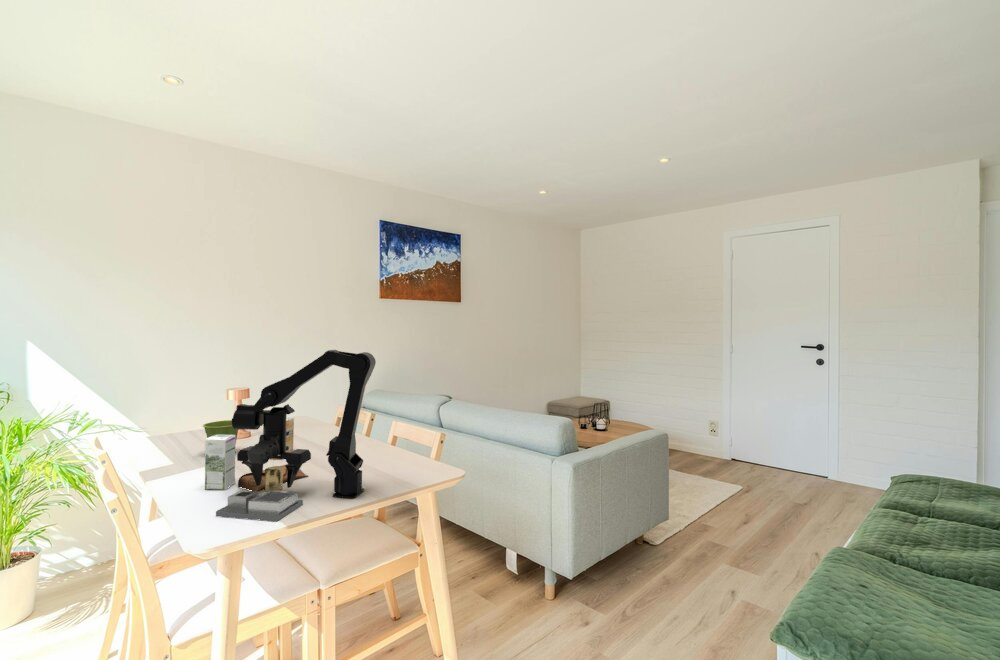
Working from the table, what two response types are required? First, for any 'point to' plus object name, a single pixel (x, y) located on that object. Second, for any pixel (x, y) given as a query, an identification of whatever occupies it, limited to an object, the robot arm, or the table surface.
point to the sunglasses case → (263, 480)
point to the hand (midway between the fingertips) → (273, 486)
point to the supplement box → (291, 433)
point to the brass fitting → (274, 478)
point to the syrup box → (219, 462)
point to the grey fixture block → (261, 505)
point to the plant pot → (220, 428)
